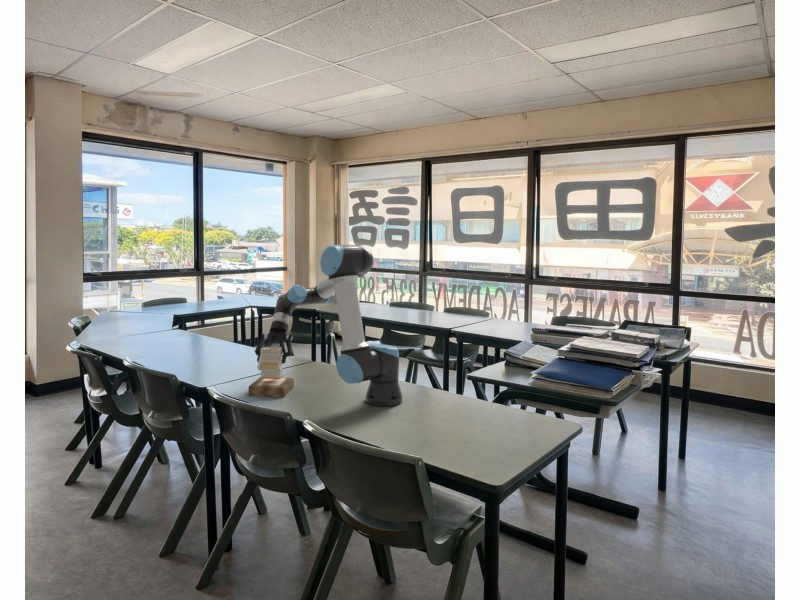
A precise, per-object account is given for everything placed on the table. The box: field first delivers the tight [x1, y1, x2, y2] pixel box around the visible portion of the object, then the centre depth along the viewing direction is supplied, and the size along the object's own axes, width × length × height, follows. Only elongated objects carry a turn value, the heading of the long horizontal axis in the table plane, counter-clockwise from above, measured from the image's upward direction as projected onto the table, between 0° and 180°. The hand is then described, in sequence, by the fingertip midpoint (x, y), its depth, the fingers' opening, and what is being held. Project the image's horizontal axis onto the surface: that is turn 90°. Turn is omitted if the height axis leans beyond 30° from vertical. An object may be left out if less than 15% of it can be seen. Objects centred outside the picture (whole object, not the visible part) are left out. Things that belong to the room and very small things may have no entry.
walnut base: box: [248, 376, 295, 398], centre depth 229 cm, size 15×15×4 cm
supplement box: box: [260, 346, 284, 379], centre depth 227 cm, size 8×5×13 cm, turn 84°
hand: (269, 369), depth 224 cm, fingers closed on supplement box, 8 cm apart
